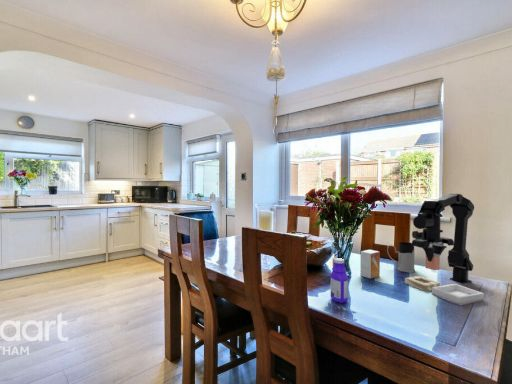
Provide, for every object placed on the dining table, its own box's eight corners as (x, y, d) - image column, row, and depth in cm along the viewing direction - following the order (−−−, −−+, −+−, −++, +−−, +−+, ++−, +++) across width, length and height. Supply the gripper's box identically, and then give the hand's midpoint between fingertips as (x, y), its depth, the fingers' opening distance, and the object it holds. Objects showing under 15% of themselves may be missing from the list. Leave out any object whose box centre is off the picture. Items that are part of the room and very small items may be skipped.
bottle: (350, 302, 113) (350, 260, 112) (340, 305, 110) (340, 262, 110) (338, 296, 119) (338, 256, 119) (327, 298, 117) (327, 257, 116)
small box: (370, 278, 141) (370, 253, 140) (360, 275, 146) (360, 251, 146) (380, 276, 145) (380, 251, 145) (369, 272, 150) (369, 249, 150)
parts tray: (454, 290, 125) (454, 283, 125) (484, 300, 113) (484, 293, 113) (431, 294, 120) (431, 287, 120) (459, 305, 109) (459, 297, 109)
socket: (419, 280, 137) (419, 275, 137) (440, 288, 127) (440, 283, 127) (405, 283, 134) (405, 278, 134) (425, 291, 124) (425, 285, 124)
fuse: (430, 267, 129) (430, 252, 128) (439, 269, 124) (439, 254, 124) (425, 267, 128) (425, 252, 128) (434, 270, 123) (434, 255, 123)
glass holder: (416, 273, 149) (417, 245, 149) (388, 270, 154) (388, 243, 154) (413, 268, 158) (413, 242, 157) (386, 266, 162) (386, 240, 162)
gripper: (432, 223, 136) (432, 255, 136) (402, 225, 130) (402, 258, 131) (454, 227, 125) (454, 261, 126) (422, 229, 120) (422, 264, 120)
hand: (432, 261), depth 126 cm, fingers closed on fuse, 3 cm apart
